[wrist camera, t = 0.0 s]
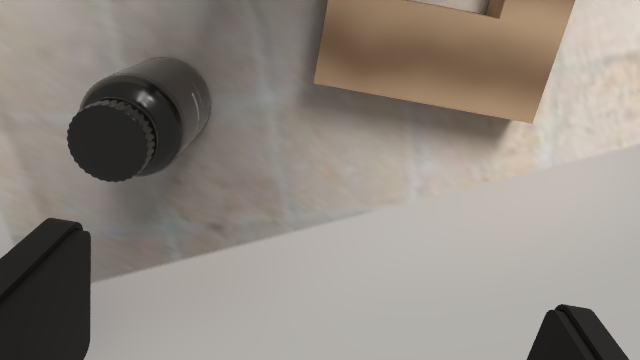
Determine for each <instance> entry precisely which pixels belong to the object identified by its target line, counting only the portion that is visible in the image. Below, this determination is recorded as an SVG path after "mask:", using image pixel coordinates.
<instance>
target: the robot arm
mask: <svg viewBox="0 0 640 360" xmlns="http://www.w3.org/2000/svg"><path fill="white" fill-rule="evenodd" d="M90 273H91V237H90V233H89V232H88V231H83V228H82V225H81V224H80V223H79V222H73V221H67V220H61V219H55V218H48V219H46V220H45V221H44V222H43V223H41V224H40V225H39V226H38V227H37V228H36V229H34V230H33V231H32V232H31V233H30V234H29V235H27V236H26V237H25V238H24V239H23V240H22V241H20V242H19V243H18V244H17V245H16V246H15V247H14V248H12V249H11V250H10V251H9V252H8V253H7V254H6V255H5V256H3V257H2V258H1V259H0V360H83V359H84V357H85V356H86V353H87V351H88V347H89V343H90ZM527 360H629V359H628V357H627V356H626V355H625V354H624V352H623V351H622V349H621V348H620V347H619V346H618V344H617V343H616V341H615V340H614V339H613V338H612V336H611V335H610V333H609V332H608V331H607V329H606V328H605V327H604V325H603V324H602V323H601V322H600V320H599V319H598V317H597V316H596V315H595V313H594V312H593V311H592V310H590V309H587V308H581V307H575V306H569V305H563V304H561V305H558V306H557V307H556V308H555V310H549V311H548V312H547V314H546V315H545V317H544V320H543V322H542V324H541V327H540V329H539V332H538V334H537V336H536V339H535V341H534V343H533V346H532V349H531V351H530V353H529V356H528V358H527Z"/></svg>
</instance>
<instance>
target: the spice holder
mask: <svg viewBox="0 0 640 360" xmlns="http://www.w3.org/2000/svg"><path fill="white" fill-rule="evenodd" d="M574 3H575V0H490V1H489V4H488V8H487V11H486V15H484V14H478V13H473V12H468V11H463V10H458V9H452V8H447V7H442V6H437V5H432V4H426V3H421V2H416V1H411V0H328V2H327V8H326V14H325V20H324V25H323V31H322V37H321V42H320V48H319V54H318V60H317V65H316V71H315V77H314V83H315V84H320V85H326V86H331V87H336V88H342V89H347V90H353V91H358V92H364V93H369V94H374V95H380V96H385V97H391V98H396V99H402V100H407V101H412V102H418V103H423V104H429V105H434V106H440V107H445V108H450V109H456V110H461V111H467V112H472V113H478V114H483V115H488V116H494V117H499V118H505V119H510V120H516V121H521V122H526V123H533V120H534V117H535V114H536V111H537V109H538V106H539V103H540V100H541V97H542V94H543V91H544V89H545V86H546V83H547V80H548V77H549V74H550V71H551V69H552V66H553V63H554V60H555V57H556V54H557V51H558V48H559V46H560V43H561V40H562V37H563V34H564V31H565V28H566V26H567V23H568V20H569V17H570V14H571V11H572V8H573V6H574Z"/></svg>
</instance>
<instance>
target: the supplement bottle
mask: <svg viewBox="0 0 640 360" xmlns="http://www.w3.org/2000/svg"><path fill="white" fill-rule="evenodd" d="M210 109H211V100H210V94H209V91H208V88H207V86H206V84H205V82H204V80H203V79H202V77H201V76H200V75H199V74H198V72H197V71H196V70H194V69H193V68H192V67H191V66H189V65H188V64H186V63H184V62H182V61H180V60H177V59H174V58H167V57H159V58H153V59H149V60H146V61H144V62H141V63H139V64H136V65H134V66H132V67H129V68H127V69H125V70H122V71H120V72H118V73H115V74H113V75H111V76H108V77H106V78H104V79H102V80H101V81H99V82H97V83H96V84H95V85H93V86H92V87H91V88H90V89H89V91H88V92H87V93H86V95H85V96H84V98H83V100H82V102H81V105H80V109H79V111H78V113H77V115H76V116H74V117H73V119H72V122H71V123H70V124H69V129H68V131H67V133H68V137H67V141H68V147H69V149H70V153H71V155H72V156H73V157H74V161H75V162H76V163H78V165H79V167H80V168H82V169H84V171H85V172H86V173H88V174H91V176H93V177H95V178H98V179H100V180H105V181H107V182H110V181H113V182H118V181H125V180H126V179H131V178H132V177H133V176H148V175H152V174H155V173H157V172H160V171H161V170H163V169H165V168H166V167H168V166H169V165H170V164H171V163H172V162H173V161H174V160H175V159H176V158H177V157H178V156H179V155H180V154H181V152H182V151H183V150H184V149H185V148H186V147H187V146H188V145H189V144H190V142H191V141H192V140H193V139H194V138H195V137H196V136H197V135H198V134H199V132H200V131H201V130H202V129H203V127H204V126H205V124H206V122H207V120H208V118H209V114H210Z"/></svg>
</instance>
